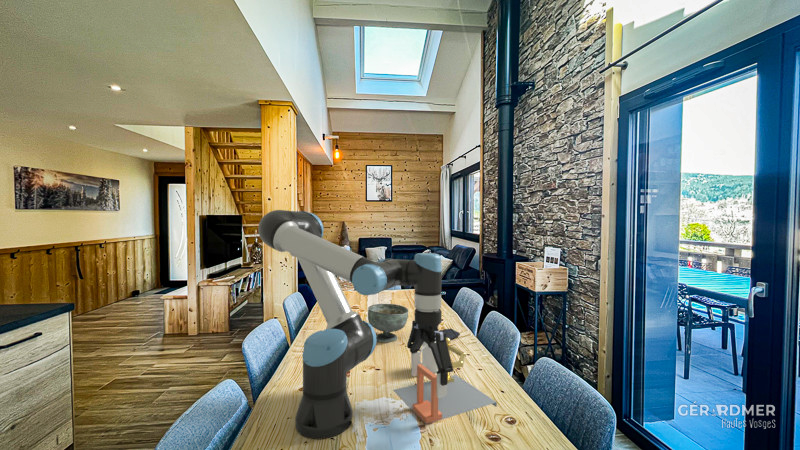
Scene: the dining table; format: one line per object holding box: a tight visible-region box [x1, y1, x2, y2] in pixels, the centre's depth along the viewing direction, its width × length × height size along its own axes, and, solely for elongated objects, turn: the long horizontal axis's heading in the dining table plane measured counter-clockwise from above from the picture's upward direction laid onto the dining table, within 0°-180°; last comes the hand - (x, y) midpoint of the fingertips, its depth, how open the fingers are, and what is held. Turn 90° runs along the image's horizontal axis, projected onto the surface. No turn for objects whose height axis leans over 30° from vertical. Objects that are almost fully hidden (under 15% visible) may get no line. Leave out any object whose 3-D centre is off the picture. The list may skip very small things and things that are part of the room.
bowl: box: [367, 303, 409, 344], centre depth 154 cm, size 20×19×15 cm
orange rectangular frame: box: [412, 364, 443, 425], centre depth 90 cm, size 5×9×12 cm, turn 27°
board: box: [393, 374, 498, 425], centre depth 100 cm, size 25×20×1 cm
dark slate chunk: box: [438, 328, 461, 341], centre depth 156 cm, size 15×22×5 cm
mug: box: [419, 341, 438, 375], centre depth 119 cm, size 12×8×12 cm
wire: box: [438, 338, 467, 383], centre depth 102 cm, size 15×17×14 cm
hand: (428, 385), depth 90 cm, fingers open, 13 cm apart
